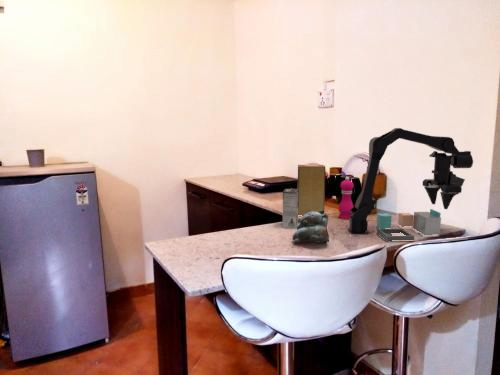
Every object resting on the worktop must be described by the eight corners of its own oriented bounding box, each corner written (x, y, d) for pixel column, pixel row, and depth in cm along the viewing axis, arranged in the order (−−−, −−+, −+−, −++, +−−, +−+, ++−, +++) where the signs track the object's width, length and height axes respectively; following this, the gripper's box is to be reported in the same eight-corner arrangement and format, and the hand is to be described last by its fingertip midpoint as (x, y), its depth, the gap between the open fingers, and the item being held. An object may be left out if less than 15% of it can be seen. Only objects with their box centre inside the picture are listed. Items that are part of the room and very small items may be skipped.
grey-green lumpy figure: (285, 242, 138) (287, 207, 143) (305, 248, 146) (306, 215, 150) (317, 239, 128) (318, 202, 132) (336, 246, 135) (337, 210, 140)
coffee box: (284, 222, 168) (284, 188, 165) (298, 223, 167) (299, 188, 164) (282, 227, 159) (282, 191, 157) (296, 228, 158) (297, 192, 155)
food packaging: (322, 212, 187) (324, 164, 183) (324, 217, 178) (326, 166, 174) (296, 212, 188) (297, 164, 184) (297, 216, 179) (298, 166, 175)
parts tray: (386, 241, 139) (387, 236, 139) (376, 234, 149) (377, 228, 149) (413, 241, 139) (414, 236, 139) (401, 233, 149) (402, 228, 149)
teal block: (380, 229, 156) (381, 216, 155) (376, 226, 160) (377, 213, 159) (390, 229, 156) (391, 216, 155) (386, 226, 160) (387, 213, 159)
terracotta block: (402, 228, 157) (403, 215, 156) (397, 226, 161) (398, 212, 160) (412, 228, 157) (413, 215, 156) (407, 225, 162) (408, 212, 161)
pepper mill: (353, 216, 179) (355, 176, 176) (353, 220, 172) (355, 178, 169) (338, 215, 181) (339, 175, 178) (337, 219, 174) (339, 177, 171)
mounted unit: (424, 237, 144) (426, 214, 143) (412, 230, 154) (414, 208, 153) (440, 237, 145) (442, 213, 143) (427, 230, 154) (429, 208, 153)
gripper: (477, 170, 136) (473, 211, 139) (448, 165, 155) (446, 201, 157) (447, 171, 136) (444, 212, 139) (422, 166, 154) (420, 202, 157)
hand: (439, 206), depth 148 cm, fingers open, 9 cm apart
